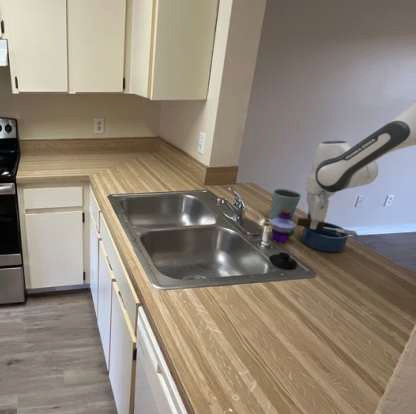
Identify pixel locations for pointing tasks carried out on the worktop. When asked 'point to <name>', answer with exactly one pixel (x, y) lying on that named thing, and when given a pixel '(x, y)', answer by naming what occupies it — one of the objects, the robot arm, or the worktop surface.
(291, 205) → the grey-green tapered cup
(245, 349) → the worktop surface
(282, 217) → the potion bottle
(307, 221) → the fork
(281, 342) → the worktop surface
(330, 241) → the bowl
